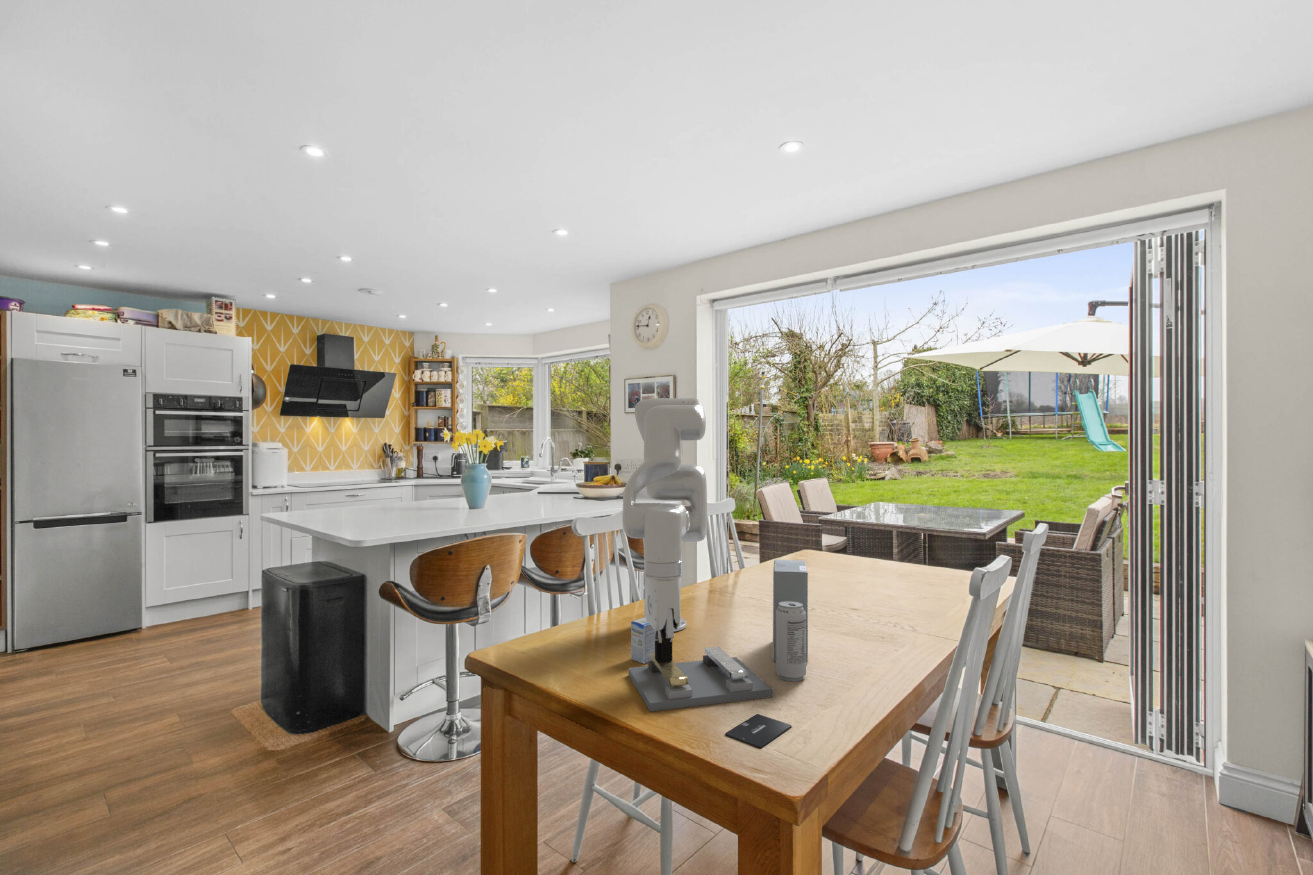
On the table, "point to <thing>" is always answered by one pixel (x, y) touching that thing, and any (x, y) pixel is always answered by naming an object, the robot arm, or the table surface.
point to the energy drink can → (791, 641)
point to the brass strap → (671, 672)
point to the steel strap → (726, 663)
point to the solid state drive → (758, 731)
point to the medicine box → (642, 640)
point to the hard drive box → (789, 590)
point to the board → (696, 685)
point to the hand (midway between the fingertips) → (663, 660)
